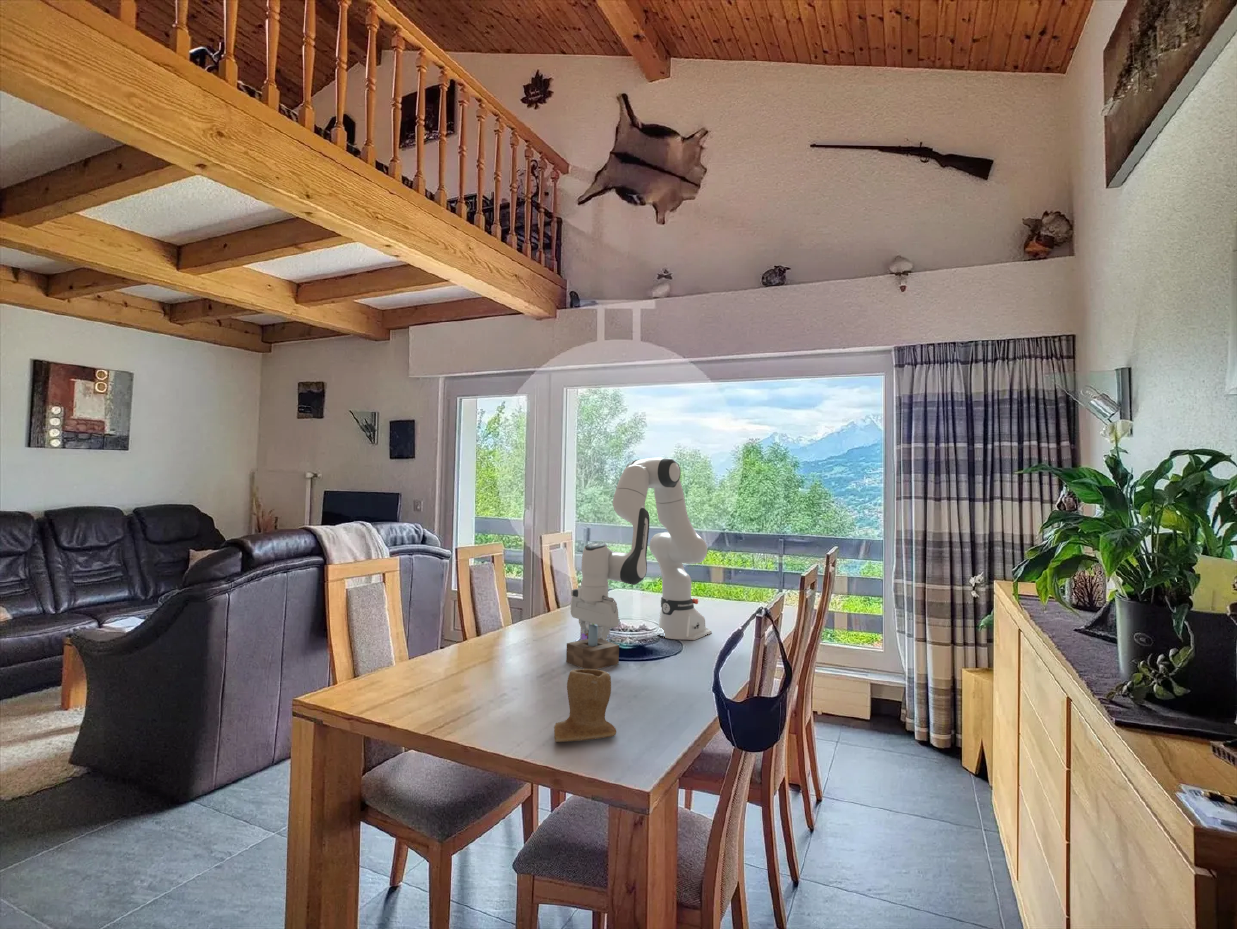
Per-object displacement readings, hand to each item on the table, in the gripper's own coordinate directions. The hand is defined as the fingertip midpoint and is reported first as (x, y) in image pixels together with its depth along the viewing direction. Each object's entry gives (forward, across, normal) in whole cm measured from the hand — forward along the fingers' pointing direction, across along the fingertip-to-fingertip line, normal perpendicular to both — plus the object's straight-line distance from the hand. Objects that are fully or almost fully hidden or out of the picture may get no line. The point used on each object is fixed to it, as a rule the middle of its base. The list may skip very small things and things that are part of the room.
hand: (593, 636), depth 201 cm
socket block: (+8, 0, 0) cm, 9 cm away
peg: (+8, 0, 0) cm, 9 cm away
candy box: (+9, +13, -12) cm, 20 cm away
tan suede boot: (+8, -41, +38) cm, 57 cm away
